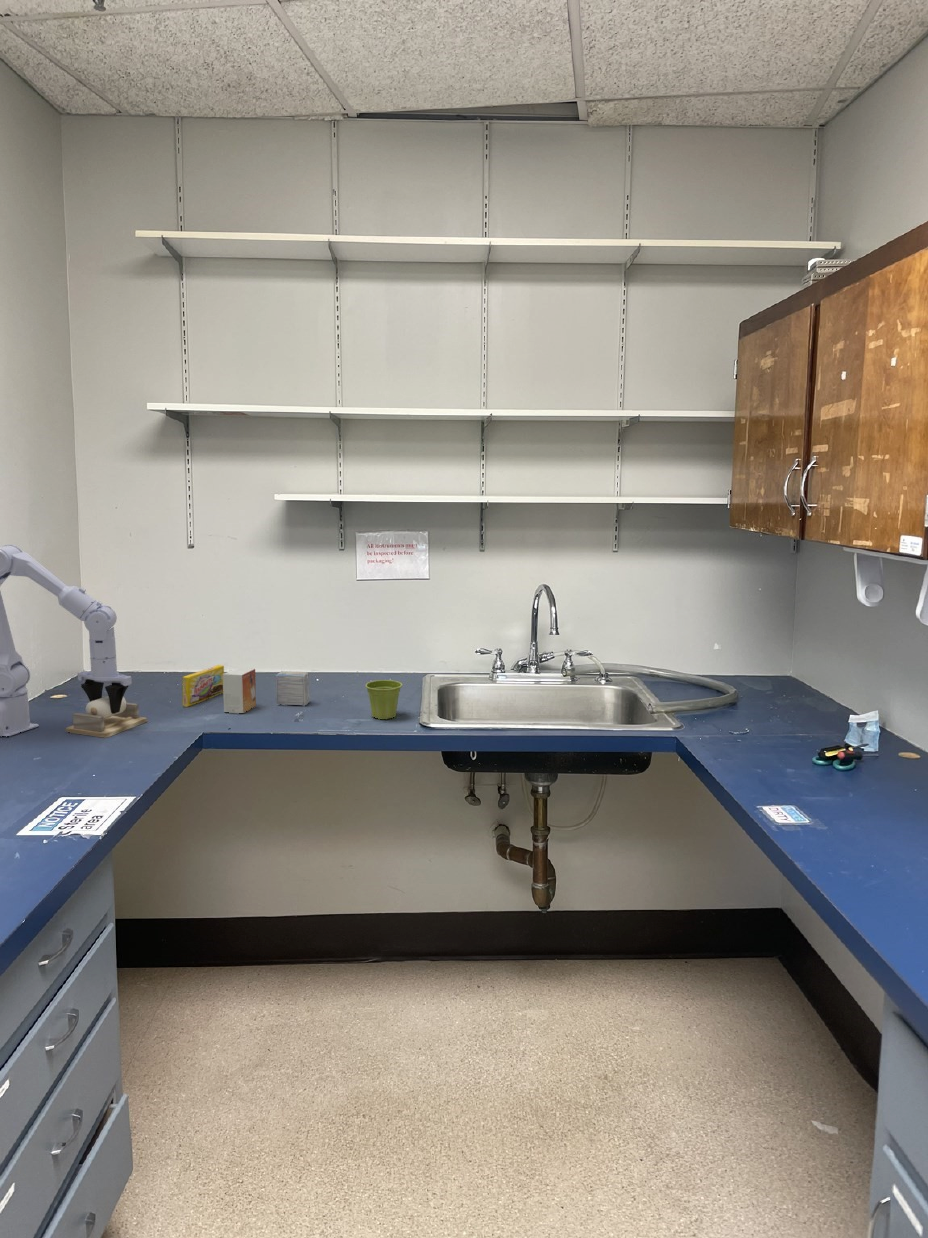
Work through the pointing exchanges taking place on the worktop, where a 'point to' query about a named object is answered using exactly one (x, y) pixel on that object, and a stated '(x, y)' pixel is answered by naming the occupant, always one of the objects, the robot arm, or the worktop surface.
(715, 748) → the worktop surface
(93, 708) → the paper roll
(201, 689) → the candy box
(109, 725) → the roll holder
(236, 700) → the small box
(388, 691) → the plant pot
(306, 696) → the grey wooden crate
